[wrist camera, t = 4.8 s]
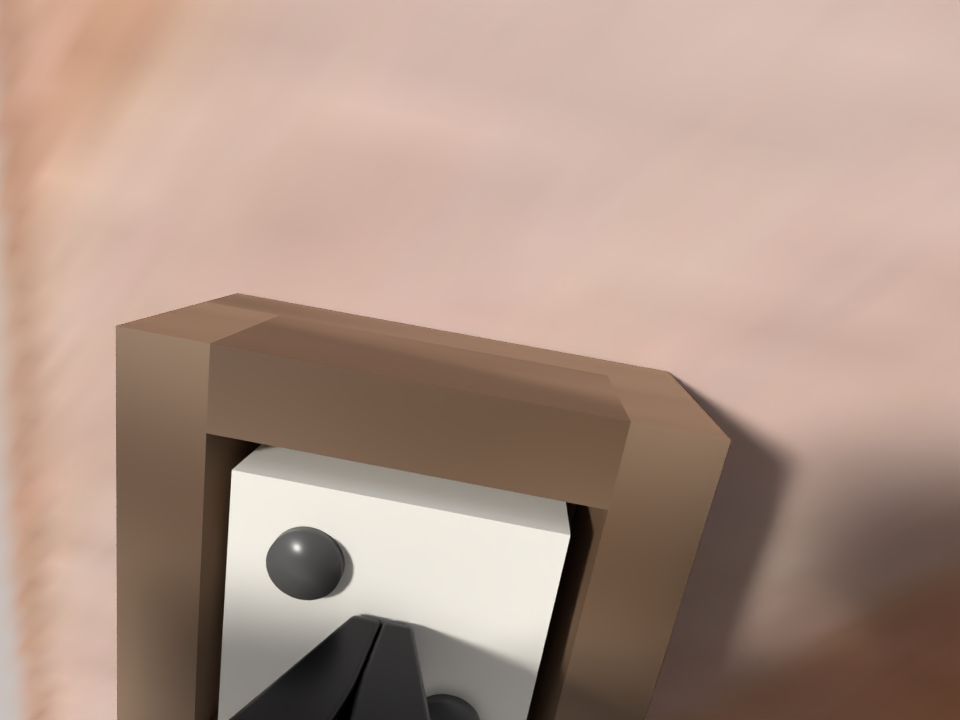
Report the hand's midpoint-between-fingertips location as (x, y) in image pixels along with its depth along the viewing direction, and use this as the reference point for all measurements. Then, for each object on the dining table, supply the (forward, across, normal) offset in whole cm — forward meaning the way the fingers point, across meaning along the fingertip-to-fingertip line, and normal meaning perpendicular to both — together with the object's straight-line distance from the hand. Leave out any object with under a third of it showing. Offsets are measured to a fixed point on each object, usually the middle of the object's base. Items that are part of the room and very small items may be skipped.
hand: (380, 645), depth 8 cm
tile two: (+2, 0, 0) cm, 2 cm away
